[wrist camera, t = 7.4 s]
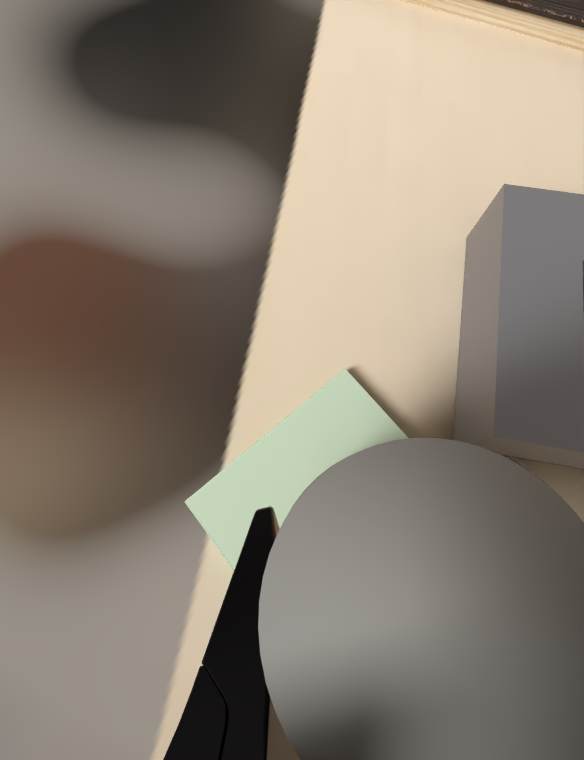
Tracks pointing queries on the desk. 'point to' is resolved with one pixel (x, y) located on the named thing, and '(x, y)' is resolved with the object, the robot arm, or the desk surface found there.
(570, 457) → the grey peg hole block
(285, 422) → the mat
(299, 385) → the desk surface
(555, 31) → the hardcover book
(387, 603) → the plug
